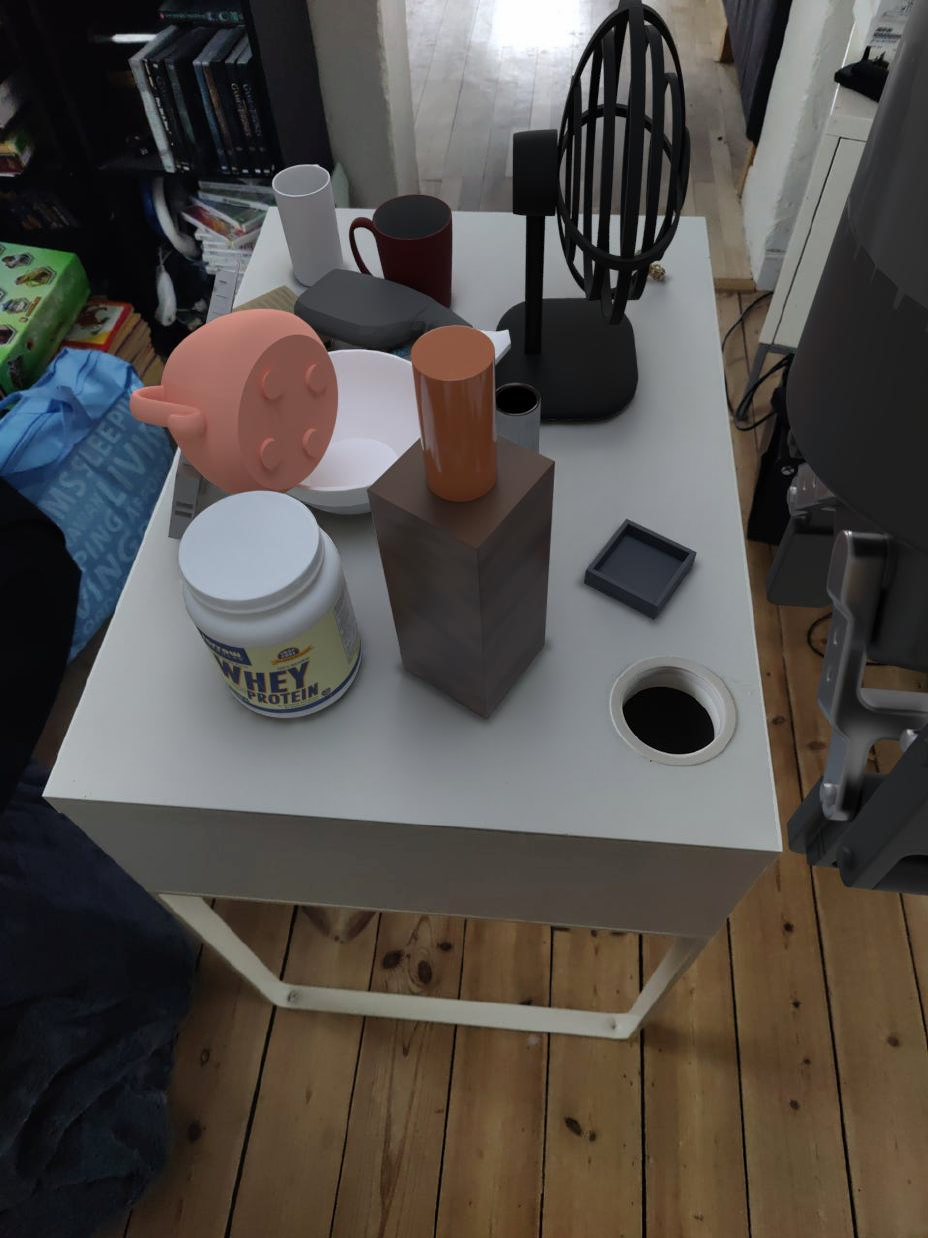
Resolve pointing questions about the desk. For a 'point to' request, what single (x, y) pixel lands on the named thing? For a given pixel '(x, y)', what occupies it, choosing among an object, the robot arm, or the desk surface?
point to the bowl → (363, 430)
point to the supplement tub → (271, 603)
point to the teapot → (247, 400)
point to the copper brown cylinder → (456, 411)
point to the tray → (640, 568)
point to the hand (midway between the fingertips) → (809, 709)
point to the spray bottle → (377, 312)
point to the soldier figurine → (654, 270)
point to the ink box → (280, 307)
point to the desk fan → (594, 326)
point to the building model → (186, 474)
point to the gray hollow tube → (519, 414)
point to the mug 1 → (308, 221)
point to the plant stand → (467, 573)
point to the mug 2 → (412, 244)
